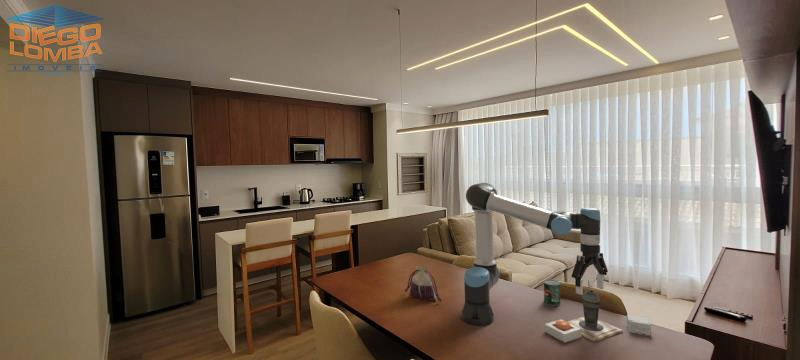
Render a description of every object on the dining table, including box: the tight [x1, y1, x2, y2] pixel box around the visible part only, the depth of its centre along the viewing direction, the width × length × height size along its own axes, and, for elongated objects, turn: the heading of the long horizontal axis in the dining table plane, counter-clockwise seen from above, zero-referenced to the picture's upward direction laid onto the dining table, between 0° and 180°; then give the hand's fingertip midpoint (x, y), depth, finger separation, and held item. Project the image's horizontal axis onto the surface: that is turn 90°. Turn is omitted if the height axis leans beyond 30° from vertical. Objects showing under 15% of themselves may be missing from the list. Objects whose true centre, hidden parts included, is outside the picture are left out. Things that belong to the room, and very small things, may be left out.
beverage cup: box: [581, 279, 601, 328], centre depth 146 cm, size 7×7×20 cm
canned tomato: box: [543, 279, 561, 306], centre depth 175 cm, size 8×8×11 cm
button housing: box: [544, 318, 582, 343], centre depth 142 cm, size 10×10×4 cm
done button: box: [555, 319, 570, 331], centre depth 142 cm, size 6×6×2 cm
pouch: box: [404, 265, 442, 303], centre depth 186 cm, size 25×8×19 cm, turn 58°
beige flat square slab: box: [566, 316, 623, 343], centre depth 146 cm, size 18×16×1 cm
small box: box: [626, 314, 652, 336], centre depth 144 cm, size 8×8×5 cm
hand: (589, 291), depth 146 cm, fingers open, 13 cm apart
